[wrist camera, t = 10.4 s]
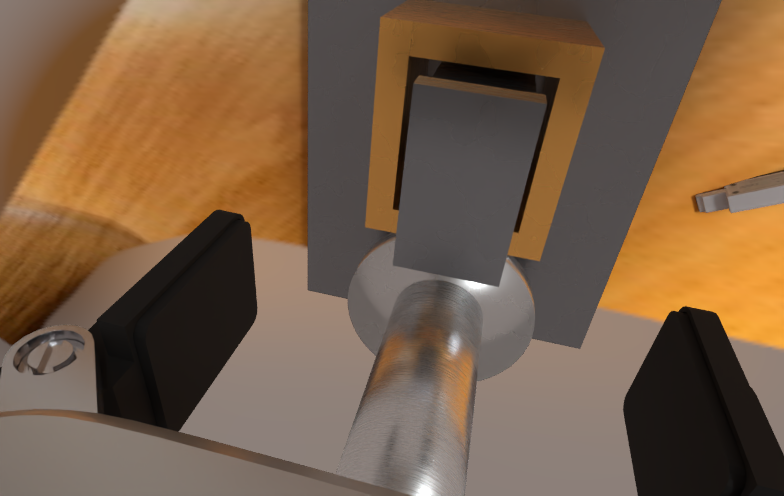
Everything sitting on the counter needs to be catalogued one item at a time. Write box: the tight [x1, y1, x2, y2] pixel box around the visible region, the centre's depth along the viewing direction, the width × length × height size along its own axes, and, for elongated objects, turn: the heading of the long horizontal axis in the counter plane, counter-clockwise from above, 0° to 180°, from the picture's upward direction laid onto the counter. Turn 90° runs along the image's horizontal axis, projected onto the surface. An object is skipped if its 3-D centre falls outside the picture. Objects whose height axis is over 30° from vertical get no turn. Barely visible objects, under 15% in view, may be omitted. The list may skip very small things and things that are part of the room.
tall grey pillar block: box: [393, 61, 547, 287], centre depth 21 cm, size 7×4×10 cm, turn 175°
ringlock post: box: [308, 0, 721, 496], centre depth 21 cm, size 21×18×20 cm
